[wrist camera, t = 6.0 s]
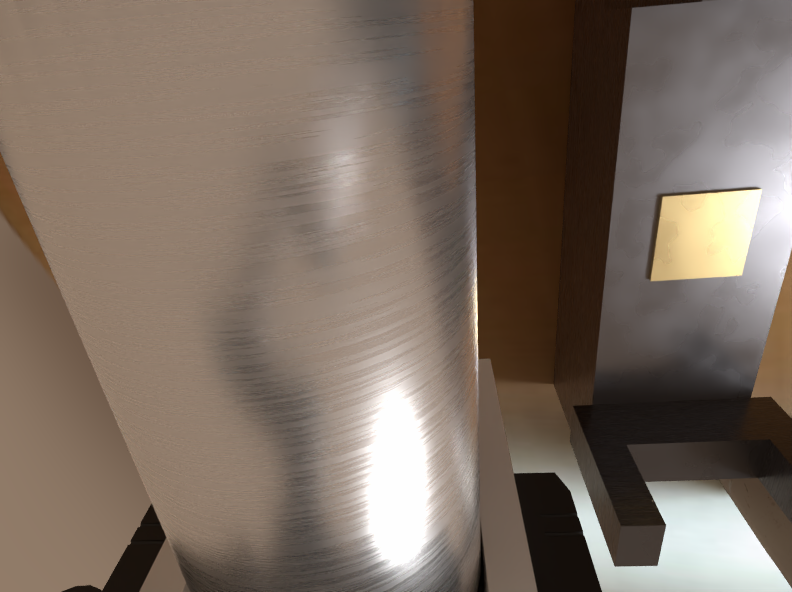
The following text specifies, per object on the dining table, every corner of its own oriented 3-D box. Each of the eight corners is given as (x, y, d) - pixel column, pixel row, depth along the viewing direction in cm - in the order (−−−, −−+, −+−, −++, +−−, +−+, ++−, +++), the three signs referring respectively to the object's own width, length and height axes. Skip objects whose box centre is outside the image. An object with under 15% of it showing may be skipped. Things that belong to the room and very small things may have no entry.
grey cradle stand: (559, -101, 24) (744, -273, 10) (787, -130, 23) (1319, -357, 9) (539, 385, 37) (609, 598, 23) (685, 378, 36) (849, 595, 22)
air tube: (49, -271, 6) (-843, -946, 2) (460, -338, 6) (527, -1461, 1) (335, 742, 18) (302, 973, 14) (480, 748, 18) (494, 992, 13)
